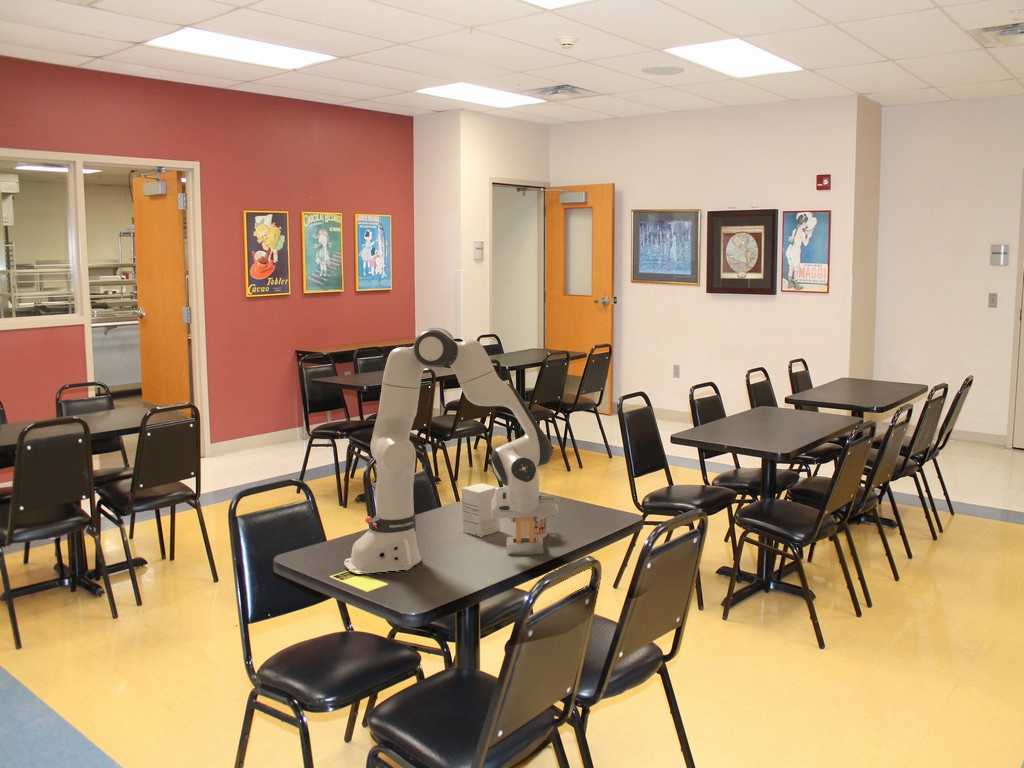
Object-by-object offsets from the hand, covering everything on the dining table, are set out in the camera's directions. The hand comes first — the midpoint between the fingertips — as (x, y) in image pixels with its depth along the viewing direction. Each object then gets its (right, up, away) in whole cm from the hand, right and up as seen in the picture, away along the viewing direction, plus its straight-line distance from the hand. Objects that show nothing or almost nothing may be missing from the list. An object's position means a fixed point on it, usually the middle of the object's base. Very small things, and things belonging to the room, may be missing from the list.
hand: (524, 520), depth 270 cm
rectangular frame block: (0, -9, 0) cm, 9 cm away
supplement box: (-14, -7, +20) cm, 26 cm away
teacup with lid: (+4, -7, +16) cm, 18 cm away
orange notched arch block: (0, -7, 0) cm, 7 cm away
